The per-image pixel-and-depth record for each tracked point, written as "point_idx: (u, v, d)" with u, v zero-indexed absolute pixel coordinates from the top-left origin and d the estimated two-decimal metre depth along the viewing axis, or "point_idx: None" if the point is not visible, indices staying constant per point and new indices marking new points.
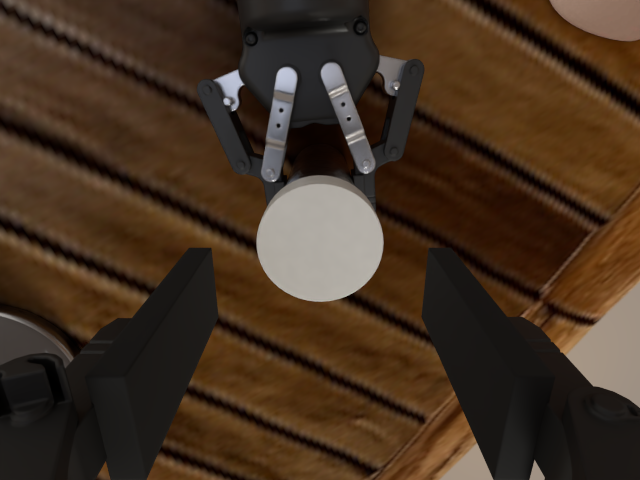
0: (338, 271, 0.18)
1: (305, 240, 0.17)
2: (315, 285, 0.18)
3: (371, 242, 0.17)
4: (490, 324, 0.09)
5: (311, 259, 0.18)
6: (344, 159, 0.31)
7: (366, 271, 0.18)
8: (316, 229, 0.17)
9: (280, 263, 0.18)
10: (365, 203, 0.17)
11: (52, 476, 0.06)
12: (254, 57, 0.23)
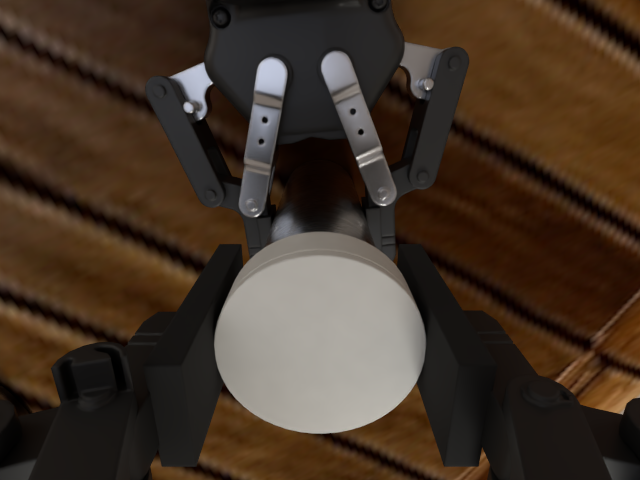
0: (350, 390, 0.11)
1: (295, 344, 0.10)
2: (312, 411, 0.11)
3: (406, 347, 0.10)
4: (444, 316, 0.10)
5: (306, 373, 0.11)
6: (351, 180, 0.24)
7: (396, 390, 0.11)
8: (314, 327, 0.10)
9: (254, 379, 0.11)
10: (398, 287, 0.10)
11: (116, 463, 0.06)
12: (226, 44, 0.16)
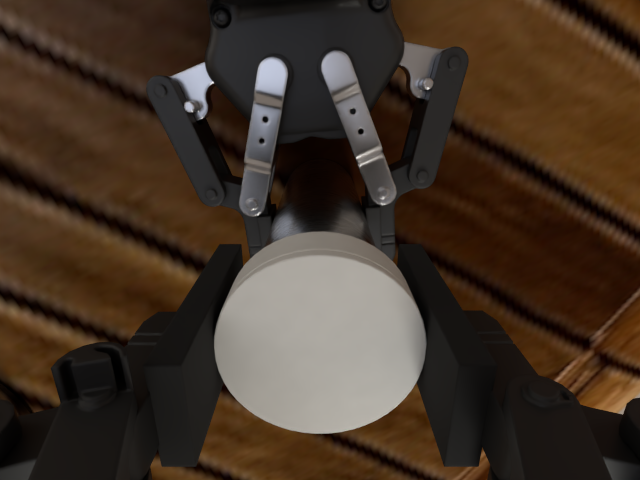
0: (367, 324, 0.10)
1: (311, 373, 0.11)
2: (393, 357, 0.10)
3: (310, 275, 0.10)
4: (444, 316, 0.10)
5: (344, 364, 0.11)
6: (351, 180, 0.24)
7: (368, 280, 0.10)
8: (291, 358, 0.10)
9: (352, 405, 0.11)
10: (238, 290, 0.10)
11: (116, 463, 0.06)
12: (226, 44, 0.16)
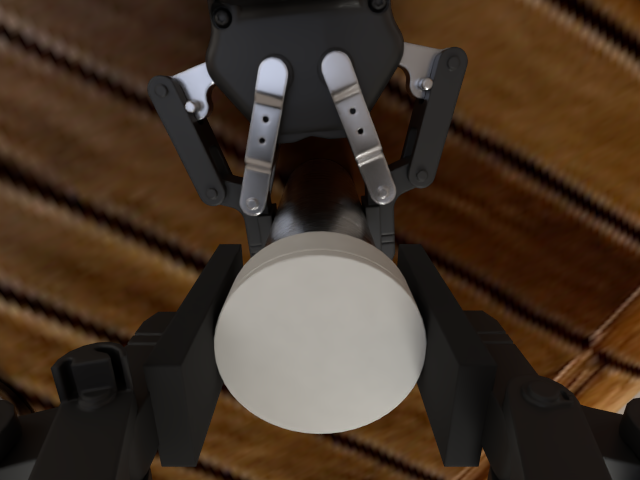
0: (284, 314, 0.10)
1: (344, 360, 0.11)
2: (323, 287, 0.10)
3: (235, 363, 0.11)
4: (444, 316, 0.10)
5: (333, 331, 0.10)
6: (351, 179, 0.24)
7: (234, 316, 0.10)
8: (327, 376, 0.11)
9: (387, 322, 0.10)
10: None
11: (116, 463, 0.06)
12: (227, 44, 0.16)
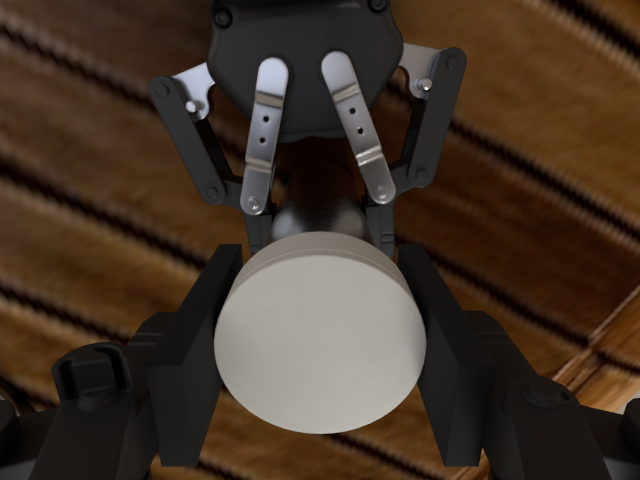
0: (277, 382, 0.11)
1: (328, 331, 0.10)
2: (245, 352, 0.10)
3: (333, 419, 0.11)
4: (444, 316, 0.10)
5: (294, 342, 0.10)
6: (351, 179, 0.24)
7: (283, 418, 0.11)
8: (349, 345, 0.10)
9: (279, 296, 0.10)
10: None
11: (116, 463, 0.06)
12: (227, 44, 0.17)
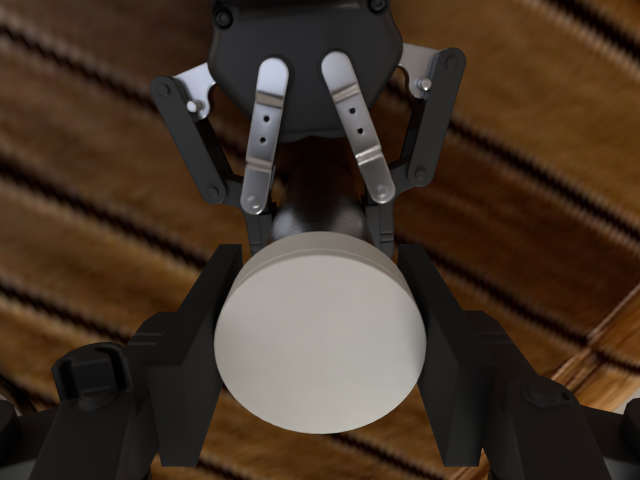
0: (356, 387, 0.11)
1: (294, 347, 0.10)
2: (321, 411, 0.11)
3: (406, 338, 0.10)
4: (444, 316, 0.10)
5: (309, 374, 0.11)
6: (351, 178, 0.25)
7: (402, 383, 0.11)
8: (310, 328, 0.10)
9: (259, 385, 0.11)
10: (388, 279, 0.10)
11: (116, 463, 0.06)
12: (228, 45, 0.17)
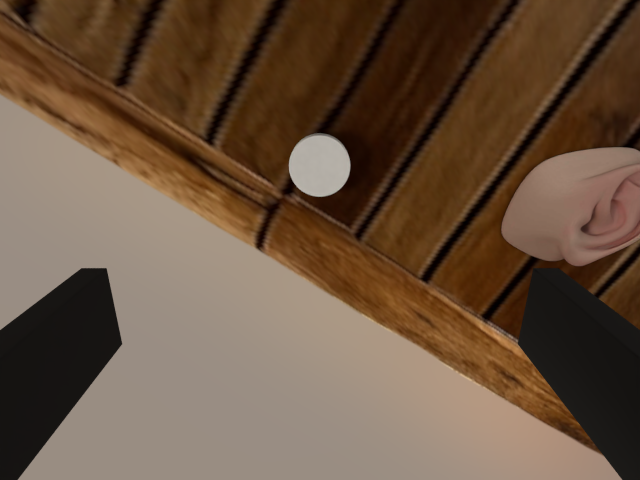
0: (330, 179, 0.37)
1: (312, 164, 0.36)
2: (320, 187, 0.37)
3: (344, 161, 0.36)
4: None
5: (316, 174, 0.36)
6: None
7: (344, 177, 0.37)
8: (316, 158, 0.36)
9: (301, 178, 0.37)
10: (338, 142, 0.35)
11: None
12: None
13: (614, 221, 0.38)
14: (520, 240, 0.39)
